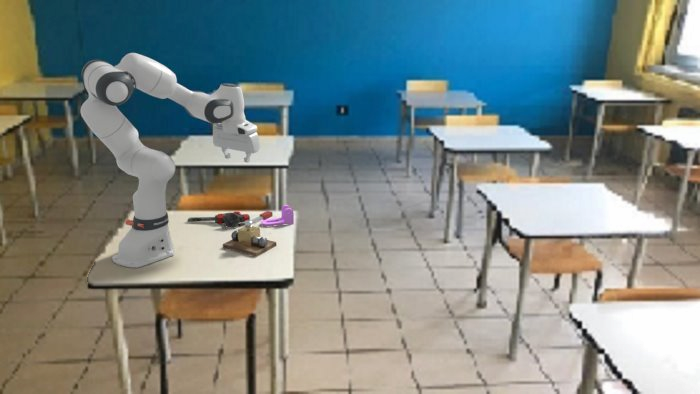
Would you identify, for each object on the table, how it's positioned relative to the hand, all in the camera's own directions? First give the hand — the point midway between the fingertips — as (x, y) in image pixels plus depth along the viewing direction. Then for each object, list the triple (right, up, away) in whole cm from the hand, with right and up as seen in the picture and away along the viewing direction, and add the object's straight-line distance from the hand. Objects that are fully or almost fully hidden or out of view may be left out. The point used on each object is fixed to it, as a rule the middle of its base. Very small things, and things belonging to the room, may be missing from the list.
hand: (237, 160), depth 236 cm
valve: (-11, -25, +19) cm, 33 cm away
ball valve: (+6, -32, -7) cm, 33 cm away
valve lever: (+9, -24, -5) cm, 26 cm away
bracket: (+13, -26, +17) cm, 33 cm away
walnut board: (+6, -33, -7) cm, 34 cm away
